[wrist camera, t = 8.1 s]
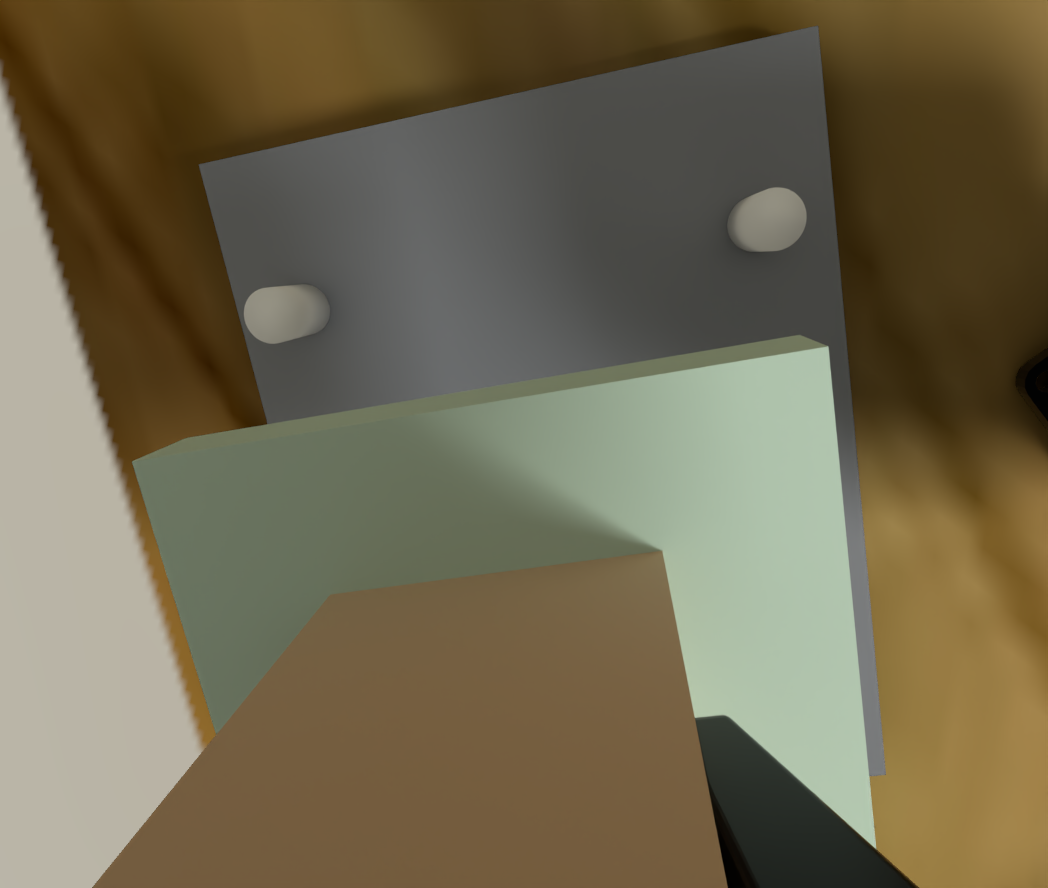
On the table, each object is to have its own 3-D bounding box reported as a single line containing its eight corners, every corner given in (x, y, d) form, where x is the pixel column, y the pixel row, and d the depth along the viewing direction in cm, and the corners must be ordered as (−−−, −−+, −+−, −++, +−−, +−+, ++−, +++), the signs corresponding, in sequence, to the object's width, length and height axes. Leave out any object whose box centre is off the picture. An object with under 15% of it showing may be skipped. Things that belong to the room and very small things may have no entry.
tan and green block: (857, 891, 11) (1316, 2051, 4) (328, 926, 12) (-61, 1866, 5) (800, 334, 9) (1452, 601, 2) (185, 438, 10) (-722, 830, 3)
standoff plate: (870, 745, 21) (916, 831, 18) (384, 791, 23) (350, 875, 20) (803, 41, 17) (848, -7, 14) (223, 170, 19) (149, 153, 16)
